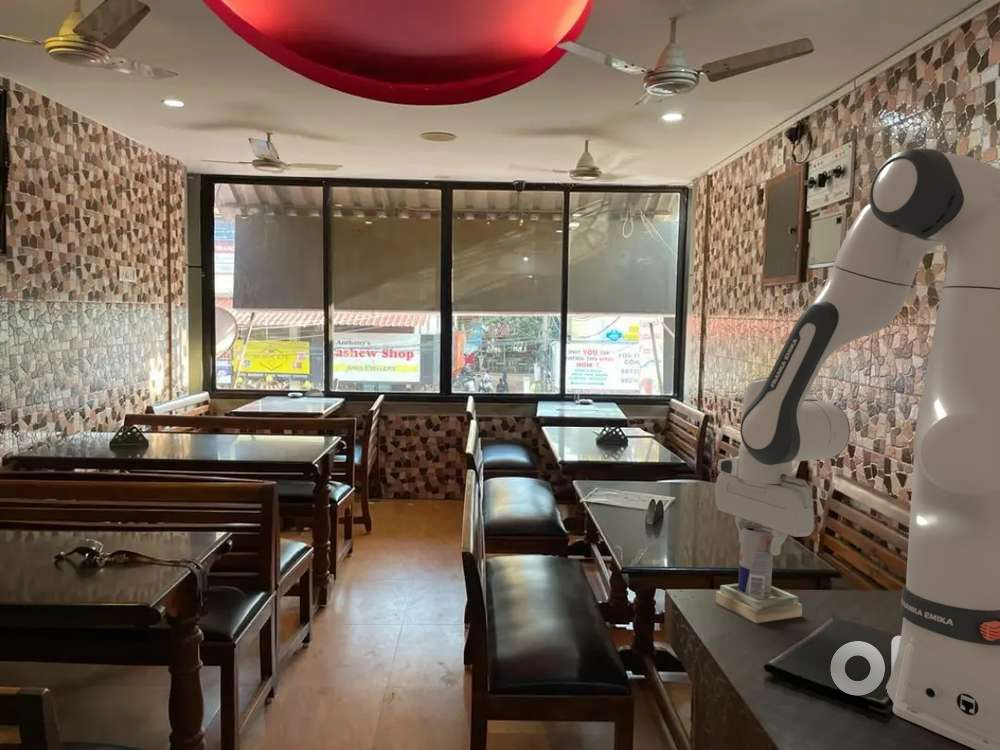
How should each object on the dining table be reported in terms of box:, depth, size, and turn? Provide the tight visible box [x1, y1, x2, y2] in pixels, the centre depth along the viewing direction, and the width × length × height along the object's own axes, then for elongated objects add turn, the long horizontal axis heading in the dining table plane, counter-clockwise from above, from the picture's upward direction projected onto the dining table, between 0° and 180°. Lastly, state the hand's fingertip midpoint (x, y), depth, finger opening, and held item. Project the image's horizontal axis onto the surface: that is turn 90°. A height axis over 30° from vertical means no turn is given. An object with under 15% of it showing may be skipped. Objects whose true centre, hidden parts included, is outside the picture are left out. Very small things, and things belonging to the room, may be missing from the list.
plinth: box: [715, 583, 803, 624], centre depth 124 cm, size 10×10×3 cm
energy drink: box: [738, 524, 775, 600], centre depth 124 cm, size 5×5×12 cm
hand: (758, 548), depth 124 cm, fingers open, 5 cm apart
